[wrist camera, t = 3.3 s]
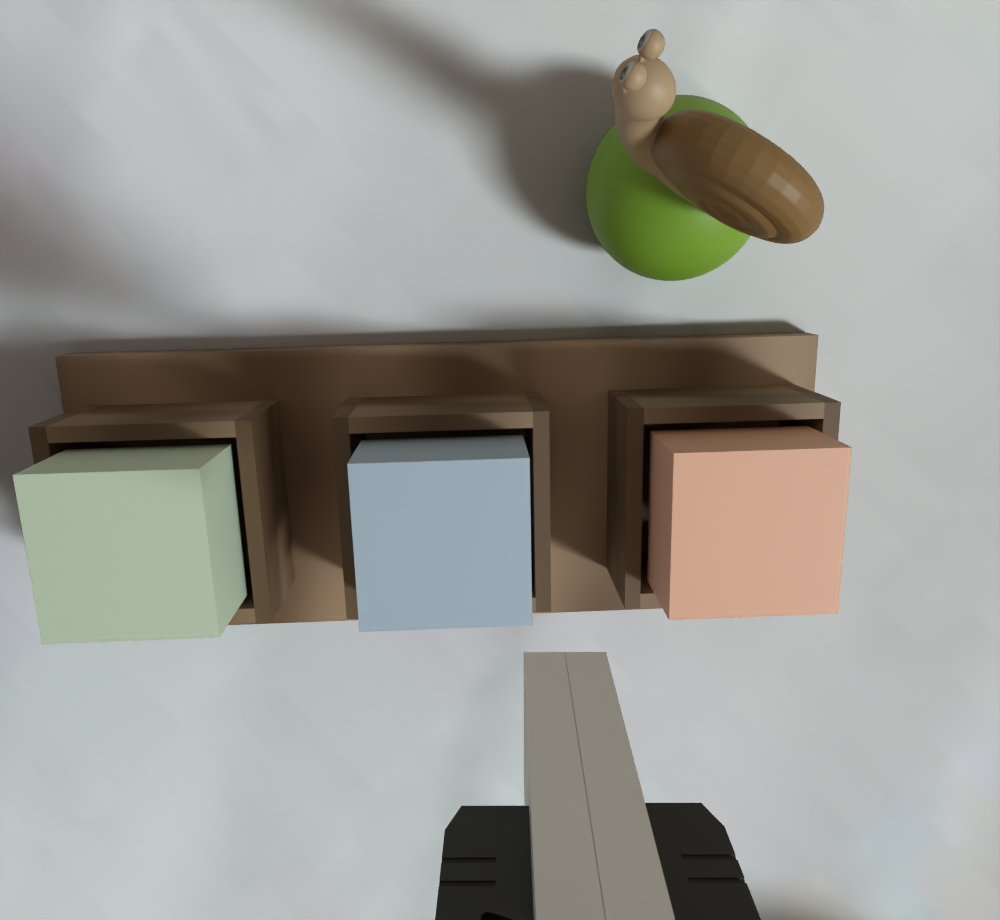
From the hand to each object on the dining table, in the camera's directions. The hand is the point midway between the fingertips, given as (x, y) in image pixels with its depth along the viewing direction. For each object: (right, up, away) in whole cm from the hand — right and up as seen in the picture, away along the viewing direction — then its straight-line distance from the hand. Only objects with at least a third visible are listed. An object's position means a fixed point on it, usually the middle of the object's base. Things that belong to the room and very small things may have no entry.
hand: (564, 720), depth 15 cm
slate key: (-3, +3, +11) cm, 12 cm away
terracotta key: (+6, +3, +11) cm, 13 cm away
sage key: (-12, +3, +10) cm, 16 cm away
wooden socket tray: (-3, +4, +15) cm, 16 cm away
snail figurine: (+4, +14, +13) cm, 19 cm away
